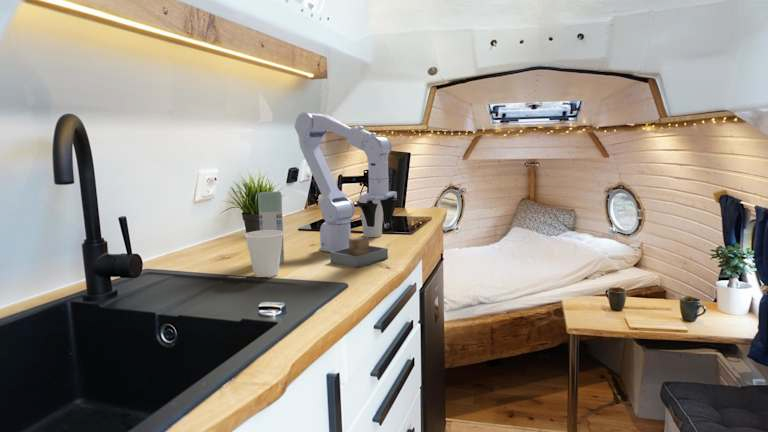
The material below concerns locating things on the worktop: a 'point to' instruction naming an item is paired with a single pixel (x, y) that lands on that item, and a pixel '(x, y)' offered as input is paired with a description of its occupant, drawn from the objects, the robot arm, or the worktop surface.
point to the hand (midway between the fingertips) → (379, 224)
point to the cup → (265, 251)
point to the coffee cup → (377, 228)
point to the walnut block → (358, 246)
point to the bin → (359, 257)
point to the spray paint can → (271, 214)
